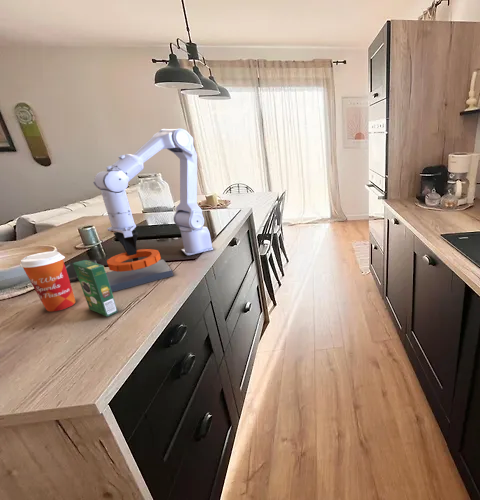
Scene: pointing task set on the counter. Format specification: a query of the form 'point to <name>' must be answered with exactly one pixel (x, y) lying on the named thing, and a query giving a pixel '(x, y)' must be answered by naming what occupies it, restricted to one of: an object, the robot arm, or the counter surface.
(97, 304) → the coffee box
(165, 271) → the blue-grey rectangular slab
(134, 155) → the robot arm
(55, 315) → the counter surface
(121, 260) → the orange ring
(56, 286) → the paper cup
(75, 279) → the phone
